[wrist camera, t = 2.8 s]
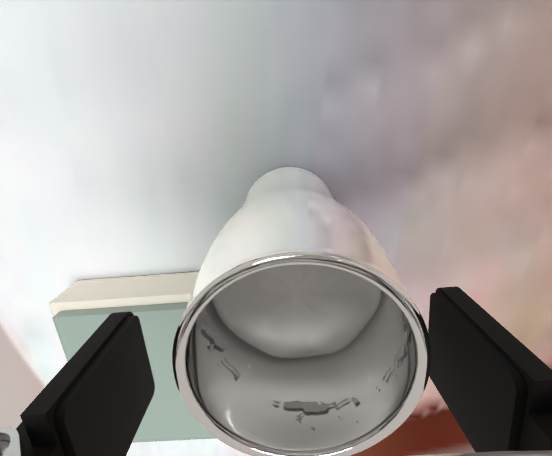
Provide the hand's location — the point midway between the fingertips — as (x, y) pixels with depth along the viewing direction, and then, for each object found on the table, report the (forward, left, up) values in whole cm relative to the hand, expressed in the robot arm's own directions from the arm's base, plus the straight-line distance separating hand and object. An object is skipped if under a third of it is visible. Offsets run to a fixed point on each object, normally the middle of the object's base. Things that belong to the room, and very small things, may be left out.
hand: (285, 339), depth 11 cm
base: (+10, +9, -13) cm, 19 cm away
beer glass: (0, -1, -13) cm, 13 cm away
